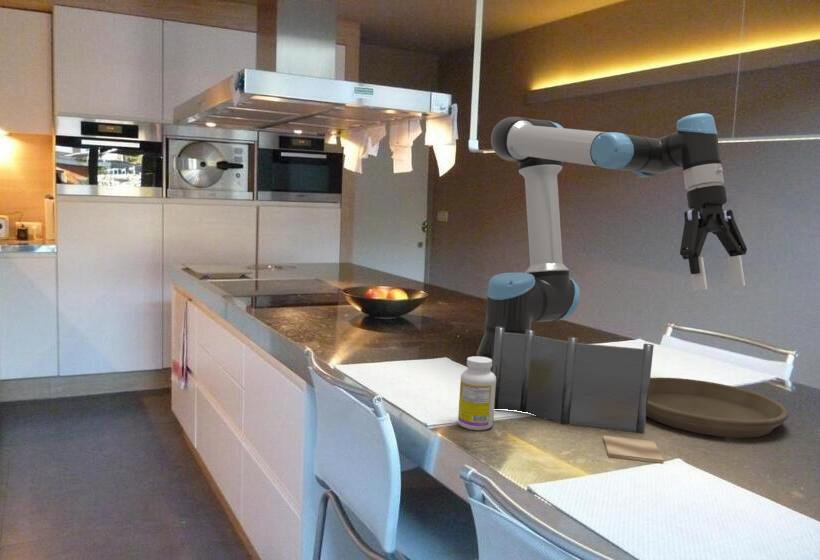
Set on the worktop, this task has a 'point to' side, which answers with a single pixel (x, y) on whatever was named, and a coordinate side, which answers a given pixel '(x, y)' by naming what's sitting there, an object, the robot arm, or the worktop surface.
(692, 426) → the plant saucer
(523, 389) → the grey ribbed panel
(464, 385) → the supplement bottle
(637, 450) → the coaster
